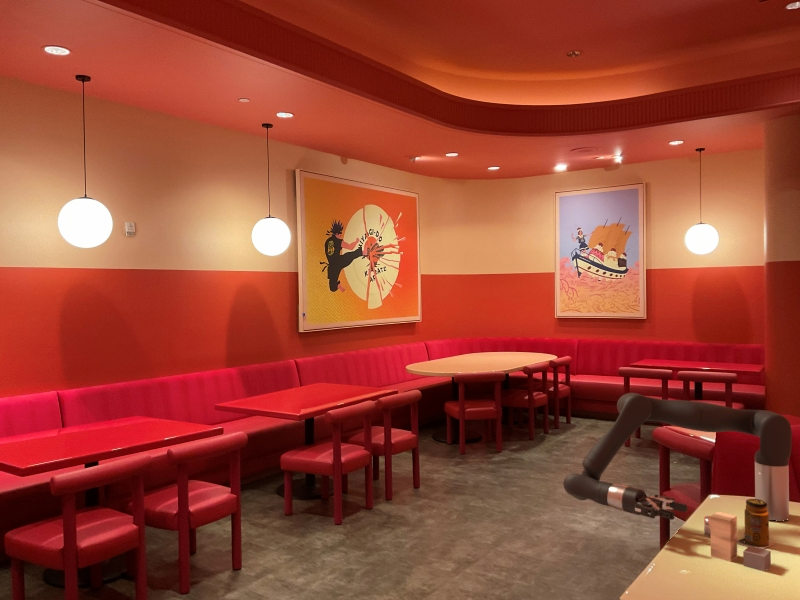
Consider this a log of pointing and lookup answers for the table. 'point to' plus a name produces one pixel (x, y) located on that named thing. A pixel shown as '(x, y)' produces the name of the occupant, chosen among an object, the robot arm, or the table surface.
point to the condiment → (756, 525)
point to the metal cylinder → (707, 526)
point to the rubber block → (757, 558)
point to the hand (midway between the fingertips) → (680, 512)
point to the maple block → (723, 536)
